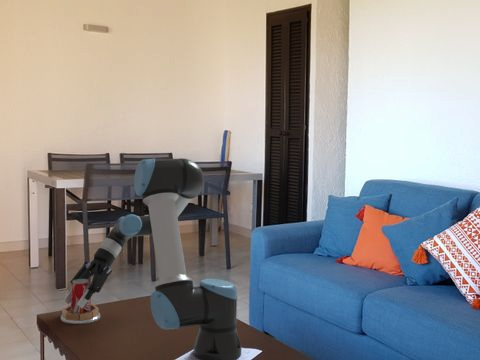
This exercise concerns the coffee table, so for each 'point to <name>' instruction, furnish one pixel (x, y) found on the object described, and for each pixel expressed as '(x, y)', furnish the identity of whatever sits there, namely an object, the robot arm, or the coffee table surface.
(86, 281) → the soda can
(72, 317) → the round wooden tray
